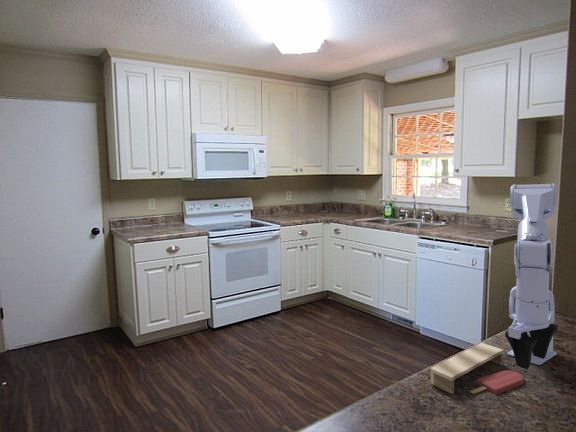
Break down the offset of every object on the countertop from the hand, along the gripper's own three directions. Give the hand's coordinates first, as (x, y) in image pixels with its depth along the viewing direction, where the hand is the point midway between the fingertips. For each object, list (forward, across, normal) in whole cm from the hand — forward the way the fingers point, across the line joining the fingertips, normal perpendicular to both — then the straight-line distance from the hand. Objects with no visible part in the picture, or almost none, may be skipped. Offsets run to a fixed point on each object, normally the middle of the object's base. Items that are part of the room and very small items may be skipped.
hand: (531, 361), depth 85 cm
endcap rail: (+8, 0, -14) cm, 16 cm away
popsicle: (+9, 0, -8) cm, 12 cm away
